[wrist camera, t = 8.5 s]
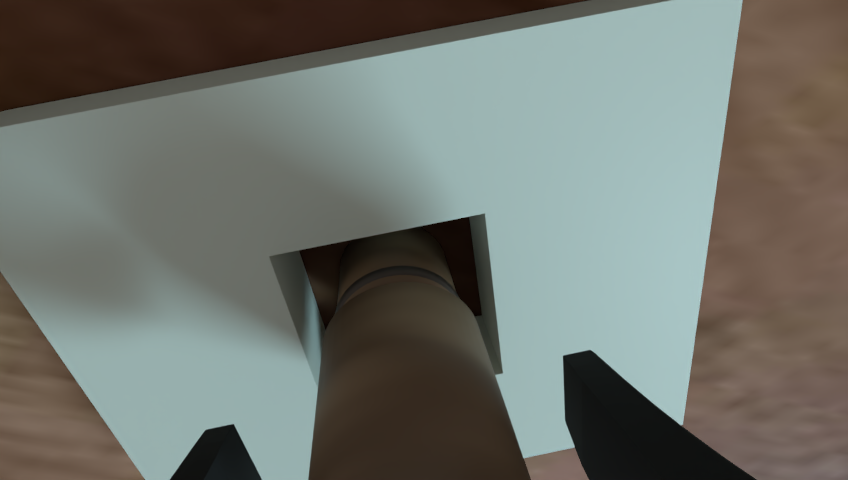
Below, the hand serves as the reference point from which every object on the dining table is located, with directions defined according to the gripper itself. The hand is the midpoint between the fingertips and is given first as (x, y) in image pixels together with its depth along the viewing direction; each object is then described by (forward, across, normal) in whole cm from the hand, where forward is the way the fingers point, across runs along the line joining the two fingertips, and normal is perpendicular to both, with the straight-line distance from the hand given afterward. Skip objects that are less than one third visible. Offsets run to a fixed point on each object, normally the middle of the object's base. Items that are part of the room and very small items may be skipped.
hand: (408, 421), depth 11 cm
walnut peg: (+6, 0, 0) cm, 7 cm away
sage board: (+6, 0, 0) cm, 7 cm away
